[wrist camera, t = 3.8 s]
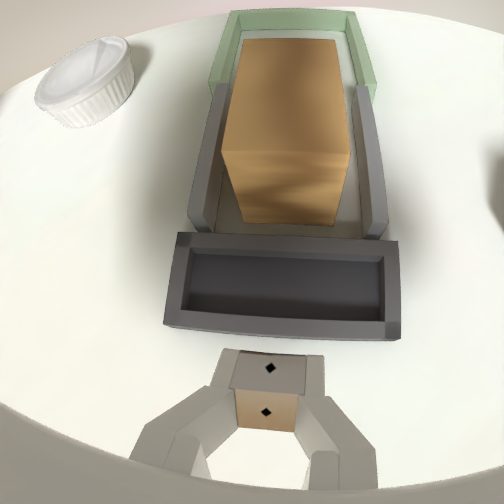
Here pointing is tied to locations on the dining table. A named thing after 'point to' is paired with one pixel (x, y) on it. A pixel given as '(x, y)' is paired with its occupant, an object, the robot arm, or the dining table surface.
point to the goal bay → (292, 20)
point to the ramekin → (87, 83)
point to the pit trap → (285, 286)
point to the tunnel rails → (213, 164)
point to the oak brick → (287, 132)
